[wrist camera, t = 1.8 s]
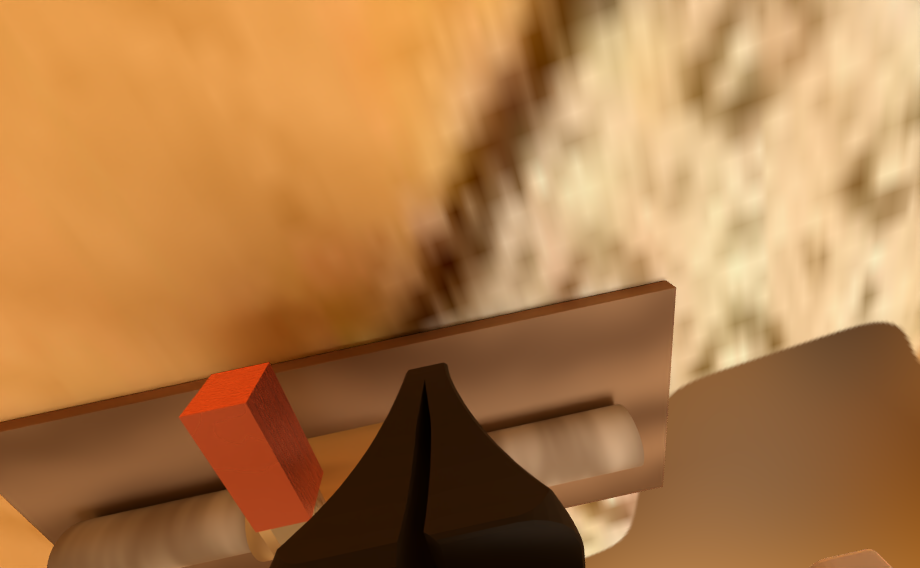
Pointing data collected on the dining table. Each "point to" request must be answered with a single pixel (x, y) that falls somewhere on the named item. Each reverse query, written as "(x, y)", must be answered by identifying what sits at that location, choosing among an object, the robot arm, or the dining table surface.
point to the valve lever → (257, 448)
